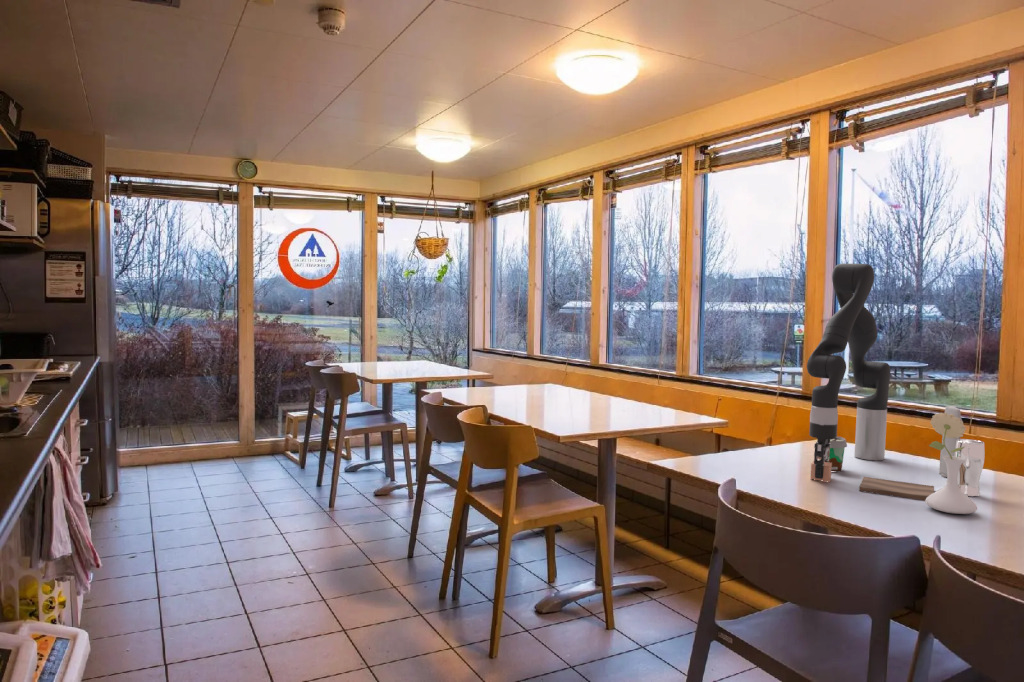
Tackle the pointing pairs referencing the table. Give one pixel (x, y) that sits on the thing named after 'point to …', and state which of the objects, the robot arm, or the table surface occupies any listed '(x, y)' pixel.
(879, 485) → the walnut board
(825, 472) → the terracotta cube
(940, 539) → the table surface
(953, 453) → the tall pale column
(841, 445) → the food container
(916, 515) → the table surface
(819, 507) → the table surface
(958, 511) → the flower in vase
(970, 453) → the beer glass
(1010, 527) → the table surface
